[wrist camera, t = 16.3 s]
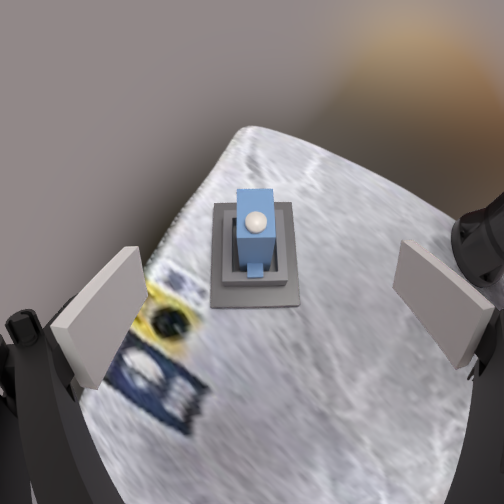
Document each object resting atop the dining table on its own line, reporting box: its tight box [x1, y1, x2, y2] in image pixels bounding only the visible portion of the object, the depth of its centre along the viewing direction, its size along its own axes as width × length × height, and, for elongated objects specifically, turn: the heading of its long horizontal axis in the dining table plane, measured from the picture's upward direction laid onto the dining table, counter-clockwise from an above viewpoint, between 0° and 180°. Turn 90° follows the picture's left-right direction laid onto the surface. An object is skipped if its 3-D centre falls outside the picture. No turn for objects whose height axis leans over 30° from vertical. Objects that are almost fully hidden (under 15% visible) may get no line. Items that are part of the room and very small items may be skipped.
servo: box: [237, 189, 276, 278], centre depth 34 cm, size 10×4×12 cm, turn 1°
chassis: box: [211, 202, 300, 308], centre depth 39 cm, size 16×12×4 cm
